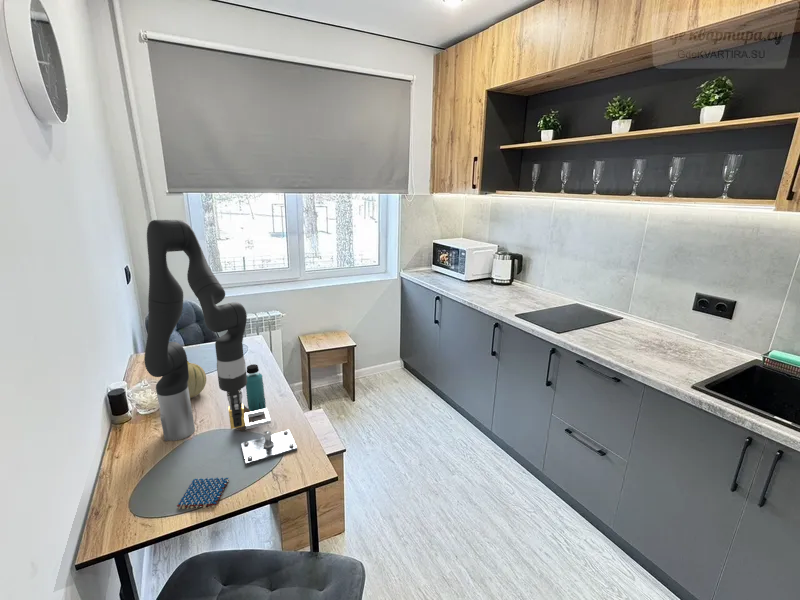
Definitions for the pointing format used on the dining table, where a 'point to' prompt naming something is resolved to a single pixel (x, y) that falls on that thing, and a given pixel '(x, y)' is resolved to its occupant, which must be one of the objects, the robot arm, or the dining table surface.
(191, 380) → the cantaloupe
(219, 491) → the woven mat
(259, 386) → the beverage bottle
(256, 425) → the end link
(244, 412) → the vase
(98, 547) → the dining table surface
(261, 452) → the toggle switch
